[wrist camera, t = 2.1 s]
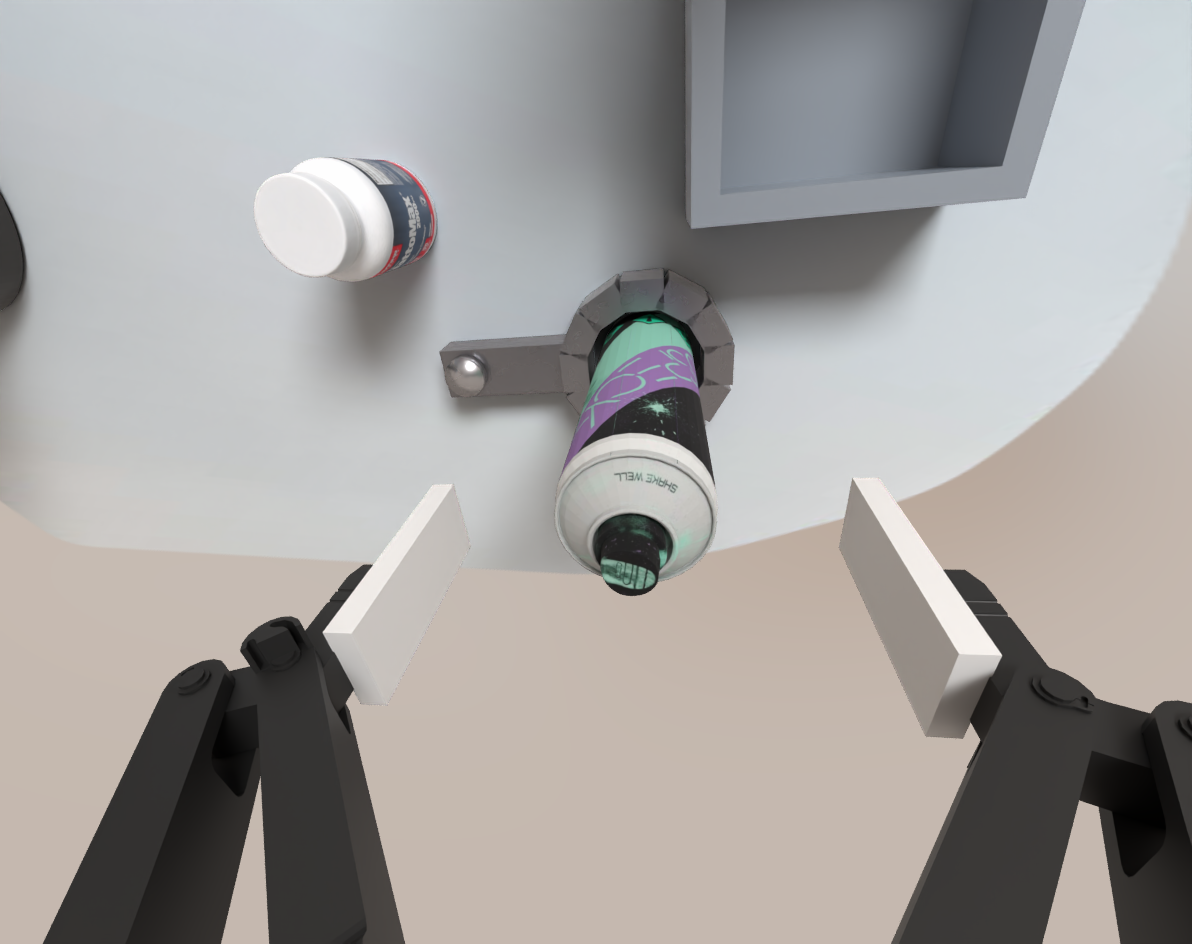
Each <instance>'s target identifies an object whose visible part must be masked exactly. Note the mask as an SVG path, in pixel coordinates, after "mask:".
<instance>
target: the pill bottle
mask: <svg viewBox="0 0 1192 944" xmlns="http://www.w3.org/2000/svg"><path fill="white" fill-rule="evenodd" d="M254 218H255V223H256V227H257V230H258V232H259V235H260V237H261V239H262V241H263V242H264V244H265V246H266V247H267V249H268V250H269V251H270V253H271V254H272V255H273V256H274V257H275V258H276V259H277V260H278V261H279V262H280V263H281V264H282V265H284V266H285V267H286V268H288V269H290V270H291V271H293V272H295V273H297V274H300V275H303V276H307V277H324V276H328V277H330V278H333V279H336V280H341V281H347V282H356V281H362V280H366V279H370V278H372V277H375V276H378V275H380V274H383V273H386V272H388V271H391V270H394V269H396V268H399V267H402V266H405V265H407V264H410V263H413V262H415V261H417V260H419V259H420V258H422V257H423V256H424V255H425V254H426V253H427V252H428V250H429V249H430V247H431V246H432V244H433V241H434V239H435V235H436V229H437V217H436V211H435V207H434V204H433V201H432V198H431V196H430V194H429V192H428V190H427V189H426V187H425V186H424V184H423V183H422V182H421V181H420V180H419V178H418V177H417V176H416V175H414V174H413V173H412V172H411V171H409V170H408V169H407V168H405V167H403V166H401V165H399V164H397V163H394V162H391V161H386V160H372V159H354V158H331V157H321V158H313V159H309V160H306V161H304V162H302V163H300V164H298V165H297V166H296V167H295V168H294V169H293V170H292V171H291V172H290V173H284V174H278V175H275V176H272V177H270V178H268V179H267V180H266V181H265V182H264V183H263V184H262V185H261V186H260V188H259V189H258V191H257V194H256V197H255V202H254Z"/></svg>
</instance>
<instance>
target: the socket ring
mask: <svg viewBox="0 0 1192 944" xmlns="http://www.w3.org/2000/svg"><path fill="white" fill-rule="evenodd" d="M653 310H660V311H662V312H664V313H666V314H668V315H670V316H672V317H674V318H676V319H678V320H680V321H682V322H684V323H686V324H688V325H689V327H690V328H691V330H692V332H693V333H694V335H695V337H696V338H697V340H698V341H699V343H700V345H701V358H700V366H699V367H698V369H697V371H696V378H697V383H698V389H699V395H700V401H701V407H702V413H703V418H704V424H705V420H707V421H709V422H710V421H711V419H712V418H713V416H714V414H715V413H716V411H717V410H718V408H719V407H720V405H721V404H722V402H723V401H724V399H725V398H726V396H727V395H728V393H729V392H730V390H731V389H730V386H729V385H733V364H734V343H733V338H732V336H731V333H730V331H729V329H728V326H727V324H726V322H725V321H724V319H723V317H722V315H721V314H720V312H719V310H718V308H717V307H716V305H715V303H714V301H713V300H712V298H711V296H710V294H709V293H708V292H705V289H704V287H702V286H700V285H698V284H696V283H694V282H692V281H690V280H688V279H686V278H684V277H682V276H680V275H679V274H677V273H675V272H673V271H671V270H668V272H667V274H666V276H665V278H664V276H663V268H661V269H649V270H637V271H625V272H623V273H622V276H621V278H620V276H619V274H617V275H615V276H614V277H613V278H611V279H610V280H608V281H607V282H606V283H604V284H603V285H601V286H600V287H599V288H597V289H596V290H595V291H593V292H592V293H590V294H589V295H588V296H586V298H585V299H584V301H582V303H581V305H580V306H579V308H578V310H577V312H576V313H575V316H574V318H573V320H572V323H571V325H570V327H569V330H568V332H567V334H565V335H550V336H535V337H519V338H504V339H488V340H473V341H458V342H450V343H449V344H448V345H447V346H446V347H444V348H443V349H442V350H441V351H440V356H441V360H442V363H443V367H444V371H445V380H446V383H447V385H448V386H449V390H450V394H451V397H471V396H491V395H511V394H532V393H553V392H564V393H568V394H567V397H566V398H567V399H568V400H569V402H570V403H571V404H572V406H573V407H574V408H575V410H576V411H577V412H578V413H579V415H581V412H582V409H583V406H584V403H585V400H586V397H587V394H588V391H589V387H590V384H591V381H592V378H593V375H594V372H595V369H596V367H595V357H594V347H593V344H594V342H595V340H596V338H597V336H598V334H599V331H600V330H601V329H603V328H604V327H606V326H607V325H609V324H610V323H612V322H613V321H614V320H616V319H617V318H619V317H620V316H622V315H623V314H625V313H626V312H638V311H653ZM705 426H706V424H705Z"/></svg>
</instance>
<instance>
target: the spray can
mask: <svg viewBox="0 0 1192 944" xmlns="http://www.w3.org/2000/svg"><path fill="white" fill-rule="evenodd" d="M555 502H556V506H555V511H554V518H555V527H556V530H557V534H558V537H559V539H560V541H561V543H562V544H563V546H564V548H565V549H566V551H567V552H568V553H569V554H570V555H571V556H572V558H573V559H574V560H576V561H577V562H578V563H579V564H581V565H582V566H583V567H584V568H586V569H588V570H589V571H591V572H593V573H595V574H597V575H599V576H602V577H603V579H604V580H605V582H606V584H607V585H609V587H610V588H611V589H613V590H614V591H616V592H617V593H619V594H622V595H626V596H637V595H642V594H645V593H647V592H649V591H651V590H652V589H653V588H654V587H655V586H656V584H657V582H659V581H664V580H668V579H671V578H673V577H676V576H678V575H680V574H682V573H684V572H685V571H687V570H689V569H690V568H692V567H693V566H694V565H695V564H696V563H698V562H699V561H700V560H701V559H702V558H703V557H704V555H705V554H706V552H707V551H708V550H709V548H710V546H711V544H712V542H713V539H714V537H715V532H716V525H717V511H718V504H717V494H716V488H715V482H714V477H713V471H712V465H711V459H710V453H709V447H708V442H707V436H706V430H705V424H704V418H703V413H702V407H701V401H700V395H699V389H698V383H697V378H696V372H695V366H694V360H693V354H692V348H691V343H690V340H689V337H688V335H687V333H686V331H685V329H684V327H683V326H682V325H681V324H680V323H679V322H678V320H677V319H675V318H674V317H672V316H670V315H668V314H666V313H664V312H662V311H659V310H653V311H638V312H631V313H628V314H626V315H625V316H623V317H622V318H620V319H619V320H618V321H617V322H616V323H615V324H614V325H613V326H612V328H611V329H610V331H609V332H608V334H607V336H606V339H605V341H604V344H603V347H602V350H601V353H600V357H599V360H598V363H597V366H596V369H595V372H594V375H593V378H592V381H591V384H590V387H589V391H588V394H587V397H586V400H585V403H584V406H583V409H582V412H581V415H580V418H579V421H578V425H577V428H576V431H575V434H574V437H573V440H572V443H571V446H570V449H569V452H568V455H567V459H566V462H565V465H564V468H563V471H562V474H561V477H560V480H559V483H558V486H557V492H556V498H555Z"/></svg>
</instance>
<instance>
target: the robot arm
mask: <svg viewBox="0 0 1192 944" xmlns="http://www.w3.org/2000/svg"><path fill="white" fill-rule="evenodd" d="M22 275H23V260H22V252H21V247H20V242H19V238H18V235H17V231H16V228H15V226H14V223H13V220H12V218H11V215H10V213H9V211H8V209H7V206H6V204H5V202H4V200H3V198H2V196H1V195H0V311H1V310H3V309H5V308H6V307H7V306H8V305H9V304H10V303H11V302H12V301H13V300H14V299H15V297H16V295H17V293H18V291H19V289H20V286H21V282H22ZM470 547H471V544H470V541H469V537H468V534H467V530H466V527H465V523H464V520H463V516H462V512H461V509H460V505H459V502H458V498H457V495H456V491H455V488H454V484H443V485H432V487H431V488H430V489H429V491H428V492H427V493H426V495H425V496H424V497H423V499H422V500H421V502H420V503H419V504H418V506H417V507H416V508H415V510H414V511H413V512H412V514H411V515H410V516H409V518H408V519H407V520H406V522H405V523H404V524H403V526H402V527H401V528H400V530H399V531H398V532H397V534H396V535H395V536H394V538H393V539H392V540H391V542H390V543H389V544H388V546H387V547H386V548H385V550H384V551H383V552H382V554H381V555H380V556H379V558H378V559H377V560H376V562H375V563H374V564H373V565H362V566H361V567H360V568H359V569H357V570H356V571H354V572H353V573H352V574H350V575H349V576H348V577H347V578H346V580H345V581H344V582H343V584H342V585H341V586H340V587H339V589H338V592H335V594H334V595H333V596H332V597H331V599H330V602H329V603H327V604H326V605H325V606H324V608H323V609H322V610H321V611H320V613H319V614H318V615H317V617H316V618H315V619H314V621H313V622H312V623H311V624H310V625H309V627H308V628H307V629H306V630H304V628H303V626H302V625H301V623H300V621H299V620H298V619H297V618H294V617H280V618H276V619H274V620H270V621H268V622H266V623H264V624H263V625H261V626H259V627H258V628H256V629H255V630H254V631H253V632H251V633H250V634H249V635H248V636H247V638H246V639H245V640H244V642H243V643H242V646H241V650H240V651H241V653H242V654H243V656H244V657H245V659H246V660H247V662H248V663H249V665H250V667H246V668H242V669H237V670H233V671H229V670H228V669H227V667H226V666H225V665H224V663H223V662H222V661H220V660H215V659H213V660H206V661H202V662H199V663H197V664H195V665H192V666H190V667H188V668H187V669H185V670H184V671H182V672H181V673H179V674H178V675H177V676H176V677H175V678H173V679H172V680H171V681H170V682H169V684H168V685H167V686H166V688H165V689H164V691H163V692H162V695H161V697H160V699H159V701H158V703H157V705H156V707H155V709H154V711H153V713H152V715H151V718H150V720H149V722H148V724H147V726H146V728H145V730H144V732H143V734H142V736H141V739H140V741H139V743H138V745H137V747H136V749H135V751H134V753H133V755H132V757H131V760H130V762H129V764H128V766H127V768H126V770H125V772H124V774H123V776H122V778H121V781H120V783H119V785H118V787H117V789H116V791H115V793H114V795H113V798H112V799H111V802H110V804H109V806H108V808H107V810H106V812H105V814H104V816H103V818H102V820H101V823H100V825H99V827H98V829H97V831H96V833H95V836H94V837H93V840H92V841H91V844H90V846H89V848H88V850H87V852H86V854H85V856H84V858H83V861H82V863H81V865H80V867H79V869H78V871H77V873H76V875H75V877H74V879H73V881H72V883H71V886H70V888H69V890H68V892H67V894H66V896H65V898H64V900H63V902H62V905H61V907H60V909H59V911H58V913H57V915H56V917H55V919H54V921H53V924H52V925H51V928H50V930H49V932H48V934H47V936H46V938H45V940H44V942H43V944H221V940H222V937H223V933H224V928H225V924H226V919H227V915H228V911H229V907H230V903H231V899H232V894H233V890H234V886H235V882H236V878H237V873H238V869H239V865H240V860H241V856H242V852H243V848H244V844H245V839H246V835H247V831H248V827H249V823H250V818H251V814H252V809H253V805H254V801H255V797H256V793H257V789H258V784H259V780H260V776H261V790H262V809H263V810H262V811H263V831H264V850H265V869H266V889H267V909H268V929H269V944H405V941H404V937H403V933H402V929H401V924H400V920H399V916H398V912H397V908H396V903H395V899H394V895H393V891H392V887H391V882H390V878H389V874H388V870H387V866H386V861H385V857H384V853H383V849H382V845H381V841H380V836H379V832H378V828H377V824H376V820H375V815H374V811H373V807H372V803H371V799H370V794H369V790H368V786H367V782H366V778H365V773H364V769H363V766H362V761H361V757H360V753H359V749H358V744H357V740H356V736H355V732H354V728H353V723H352V719H351V715H350V711H349V709H348V707H347V705H346V701H347V700H348V698H349V696H350V695H351V693H352V692H353V691H354V692H355V694H356V696H357V698H358V700H359V702H360V704H368V705H385V706H387V705H388V703H389V701H390V699H391V697H392V695H393V694H394V691H395V690H396V688H397V686H398V684H399V682H400V680H401V678H402V676H403V674H404V673H405V671H406V669H407V667H408V665H409V663H410V661H411V659H412V657H413V655H414V653H415V652H416V649H417V648H418V646H419V644H420V642H421V640H422V638H423V636H424V634H425V633H426V630H427V628H428V627H429V625H430V623H431V621H432V619H433V617H434V615H435V613H436V611H437V610H438V607H439V606H440V604H441V602H442V600H443V598H444V596H445V594H446V592H447V591H448V589H449V587H450V585H451V583H452V581H453V579H454V577H455V575H456V573H457V571H458V570H459V568H460V566H461V564H462V562H463V560H464V558H465V556H466V554H467V552H468V550H469V549H470ZM839 548H840V551H841V553H842V555H843V557H844V559H845V562H846V564H847V566H848V568H849V570H850V573H851V575H852V577H853V579H854V581H855V583H856V585H857V588H858V590H859V592H860V595H861V597H862V599H863V601H864V603H865V605H866V608H867V610H868V612H869V614H870V616H871V619H872V621H873V623H874V625H875V627H876V629H877V632H878V634H879V636H880V638H881V640H882V643H883V645H884V647H885V649H886V651H887V653H888V656H889V658H890V660H891V662H892V664H893V667H894V669H895V671H896V673H897V675H898V678H899V679H900V682H901V684H902V686H903V688H904V691H905V693H906V695H907V697H908V699H909V702H910V704H911V706H912V708H913V710H914V712H915V714H916V717H917V719H918V721H919V723H920V726H921V728H922V730H923V732H924V734H925V736H926V737H944V738H961V739H963V737H964V735H965V733H966V731H967V729H968V727H969V725H970V723H971V724H972V725H973V727H974V729H975V731H976V733H977V734H978V736H979V738H980V740H981V741H980V743H979V745H978V747H977V749H976V750H975V752H974V755H973V756H972V759H971V760H970V762H969V764H968V766H967V768H968V769H967V772H966V774H965V776H964V778H963V781H962V783H961V785H960V787H959V790H958V792H957V794H956V797H955V799H954V801H953V803H952V806H951V808H950V811H949V813H948V815H947V817H946V820H945V822H944V824H943V826H942V829H941V831H940V833H939V836H938V838H937V840H936V842H935V845H934V847H933V849H932V851H931V854H930V856H929V859H928V861H927V863H926V865H925V867H924V870H923V872H922V874H921V877H920V879H919V881H918V883H917V886H916V888H915V890H914V893H913V895H912V897H911V899H910V902H909V904H908V906H907V909H906V911H905V913H904V915H903V918H902V920H901V923H900V925H899V927H898V929H897V931H896V934H895V936H894V938H893V941H892V943H891V944H1042V942H1043V938H1044V934H1045V931H1046V927H1047V923H1048V919H1049V915H1050V911H1051V907H1052V903H1053V899H1054V895H1055V892H1056V888H1057V884H1058V880H1059V876H1060V872H1061V868H1062V864H1063V861H1064V856H1065V853H1066V849H1067V845H1068V841H1069V837H1070V833H1071V829H1072V826H1073V822H1074V818H1075V814H1076V810H1077V806H1078V802H1079V800H1080V801H1083V802H1086V803H1089V804H1092V805H1095V806H1098V807H1099V813H1100V819H1101V825H1102V831H1103V837H1104V844H1105V849H1106V856H1107V863H1108V869H1109V875H1110V881H1111V887H1112V894H1113V900H1114V906H1115V912H1116V919H1117V925H1118V931H1119V937H1120V943H1121V944H1192V703H1187V702H1182V701H1164V702H1162V703H1161V704H1159V705H1158V706H1156V707H1155V709H1154V710H1153V711H1152V713H1151V714H1150V713H1146V712H1142V711H1139V710H1135V709H1131V708H1128V707H1124V706H1120V705H1116V704H1112V703H1109V702H1106V701H1103V700H1100V699H1097V698H1095V696H1094V695H1093V693H1092V692H1091V691H1090V690H1088V689H1087V688H1086V687H1085V686H1084V685H1082V684H1081V683H1080V682H1079V681H1078V680H1076V679H1074V678H1072V677H1070V676H1069V675H1067V674H1065V673H1063V672H1060V671H1058V670H1055V669H1052V668H1049V667H1048V666H1047V665H1046V663H1045V662H1044V660H1043V659H1042V658H1041V657H1040V655H1039V654H1038V653H1037V652H1036V650H1035V649H1034V647H1033V646H1032V645H1031V644H1030V642H1029V641H1028V640H1027V639H1026V637H1025V636H1024V634H1023V633H1022V632H1021V631H1020V629H1019V628H1018V627H1017V625H1016V624H1015V623H1014V622H1013V620H1012V619H1011V618H1010V617H1008V615H1007V612H1006V611H1005V610H1004V609H1003V607H1002V606H1001V605H1000V604H998V603H997V599H996V598H995V597H994V596H993V594H992V593H991V592H990V591H989V589H988V588H987V586H986V585H985V584H984V583H982V582H981V581H980V580H978V579H977V578H975V577H974V576H973V575H971V574H970V573H969V572H967V571H966V570H943V569H942V568H941V566H940V565H939V564H938V562H937V561H936V559H935V558H934V556H933V555H932V553H931V552H930V551H929V549H928V548H927V546H926V545H925V543H924V542H923V541H922V539H921V538H920V536H919V535H918V533H917V532H916V530H915V529H914V527H913V526H912V525H911V523H910V522H909V520H908V519H907V517H906V516H905V515H904V513H903V512H902V510H901V509H900V507H899V506H898V504H897V503H896V502H895V500H894V499H893V497H892V496H891V494H890V493H889V491H888V490H887V489H886V487H885V486H884V484H883V483H882V481H881V480H880V478H852V483H851V488H850V493H849V498H848V504H847V509H846V514H845V519H844V524H843V529H842V534H841V540H840V545H839Z"/></svg>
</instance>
